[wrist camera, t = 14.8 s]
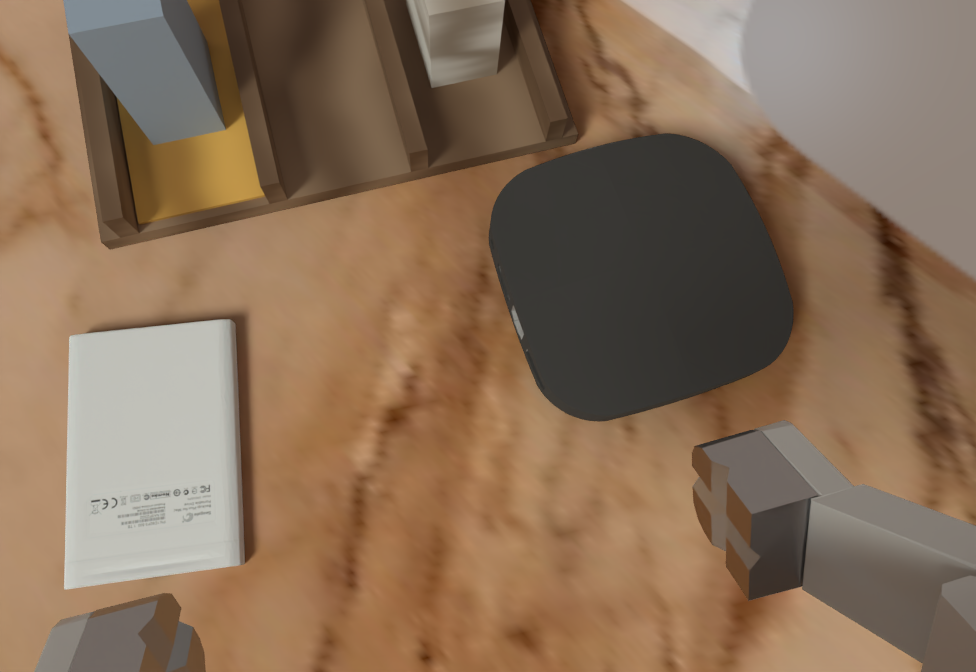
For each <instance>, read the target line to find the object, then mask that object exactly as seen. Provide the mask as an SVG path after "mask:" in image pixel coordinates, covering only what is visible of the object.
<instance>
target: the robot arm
mask: <svg viewBox="0 0 976 672" xmlns="http://www.w3.org/2000/svg"><path fill="white" fill-rule="evenodd" d="M692 466H693V468H694V469H695V471H696V472H697V474H698V475H699V476H700V477H699V478H698V479H697V481H696V482H695V484H694V485H693V501H694V506H695V510H696V513H697V517H698V520H699V522H700V524H701V526H702V528H703V531H704V532H705V534H706V536H707V537H708V539H709V541H710V542H711V544H712V545H714V546H716V547H718V548H720V549H722V550H724V551H726V567H727V569H728V570H729V572H730V573H731V575H732V576H733V578H734V579H735V581H736V582H737V584H738V585H739V587H740V588H741V590H742V592H743V593H744V595H745V596H746V598H747V599H748V601H749V600H753V599H757V598H760V597H764V596H768V595H772V594H775V593H779V592H783V591H787V590H790V589H794V588H798V587H801V586H802V589H803V590H804V591H806V592H808V593H809V594H811V595H812V596H814V597H816V598H817V599H819V600H820V601H822V602H824V603H825V604H827V605H829V606H830V607H832V608H833V609H835V610H837V611H838V612H840V613H842V614H843V615H845V616H846V617H848V618H850V619H851V620H853V621H855V622H856V623H858V624H859V625H861V626H863V627H864V628H866V629H868V630H869V631H871V632H872V633H874V634H876V635H877V636H879V637H881V638H882V639H884V640H885V641H887V642H889V643H890V644H892V645H894V646H895V647H897V648H898V649H900V650H902V651H903V652H905V653H907V654H908V655H910V656H911V657H913V658H915V659H916V660H918V661H919V662H921V663H923V665H922V669H921V672H976V526H975V525H972V524H970V523H967V522H964V521H961V520H959V519H956V518H953V517H951V516H948V515H945V514H943V513H940V512H937V511H935V510H932V509H929V508H927V507H924V506H921V505H918V504H916V503H913V502H910V501H908V500H905V499H902V498H900V497H897V496H894V495H892V494H889V493H886V492H883V491H881V490H878V489H875V488H873V487H870V486H867V485H865V484H862V485H858V486H853V485H852V484H851V483H850V482H849V481H848V480H847V479H846V478H845V477H844V476H843V475H842V474H841V473H840V472H839V471H838V470H837V469H836V468H835V467H834V466H833V465H832V464H831V463H830V462H829V461H828V460H827V458H826V457H825V456H824V455H823V454H822V453H821V452H820V451H819V450H818V449H817V448H816V447H815V446H814V445H813V444H812V443H811V442H810V441H809V440H808V439H807V438H806V437H805V436H804V435H803V434H802V433H801V432H800V431H799V430H798V429H797V428H796V427H795V426H794V425H793V424H792V423H790V422H788V421H785V420H783V421H780V422H776V423H773V424H770V425H766V426H763V427H759V428H756V429H754V430H749V431H746V432H742V433H739V434H735V435H732V436H728V437H725V438H721V439H718V440H714V441H711V442H707V443H704V444H700V445H697V446H694V449H693V452H692ZM180 612H181V607H180V605H179V604H178V602H177V601H176V599H175V598H174V597H173V595H172V594H169V593H162V594H158V595H154V596H150V597H146V598H142V599H138V600H134V601H131V602H127V603H123V604H119V605H115V606H111V607H107V608H103V609H99V610H96V611H94V612H90V613H86V614H82V615H78V616H74V617H70V618H66V619H61V620H60V621H59V622H58V623H57V624H56V625H55V626H54V627H53V628H52V630H51V632H50V634H49V637H48V639H47V642H46V644H45V647H44V649H43V652H42V654H41V656H40V659H39V661H38V664H37V666H36V669H35V671H34V672H206V670H205V656H204V650H203V647H202V644H201V641H200V638H199V636H198V634H197V633H196V631H195V629H194V628H193V627H191V626H189V625H187V624H184V623H182V622H179V617H180Z"/></svg>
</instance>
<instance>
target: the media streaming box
mask: <svg viewBox="0 0 976 672" xmlns="http://www.w3.org/2000/svg"><path fill="white" fill-rule="evenodd" d="M489 246H490V249H491V253H492V257H493V260H494V264H495V268H496V271H497V274H498V278H499V281H500V284H501V288H502V291H503V294H504V297H505V300H506V303H507V306H508V309H509V312H510V315H511V318H512V321H513V324H514V327H515V330H516V332H517V335H518V338H519V340H520V343H521V346H522V349H523V351H524V354H525V356H526V359H527V361H528V364H529V366H530V369H531V371H532V374H533V376H534V379H535V381H536V384H537V386H538V387H539V389H540V390H541V392H542V393H543V394H544V396H545V397H546V398H547V399H548V400H549V401H550V402H551V403H552V404H554V405H555V406H556V407H557V408H559V409H560V410H562V411H564V412H565V413H567V414H569V415H571V416H574V417H577V418H580V419H584V420H589V421H608V420H612V419H616V418H620V417H624V416H628V415H632V414H635V413H639V412H643V411H646V410H650V409H653V408H657V407H660V406H664V405H667V404H670V403H673V402H677V401H680V400H683V399H686V398H689V397H692V396H695V395H698V394H701V393H704V392H707V391H710V390H712V389H715V388H718V387H721V386H723V385H726V384H729V383H731V382H734V381H737V380H739V379H742V378H744V377H747V376H749V375H751V374H753V373H755V372H757V371H759V370H761V369H763V368H765V367H767V366H768V365H770V364H771V363H772V362H773V361H775V360H776V359H777V358H778V356H779V355H780V354H781V353H782V351H783V350H784V348H785V346H786V344H787V342H788V340H789V337H790V334H791V330H792V325H793V302H792V298H791V295H790V292H789V288H788V285H787V282H786V279H785V276H784V273H783V270H782V267H781V265H780V262H779V259H778V256H777V254H776V251H775V249H774V246H773V244H772V241H771V239H770V237H769V234H768V232H767V230H766V228H765V225H764V223H763V221H762V219H761V217H760V215H759V213H758V211H757V209H756V207H755V205H754V203H753V201H752V199H751V197H750V196H749V194H748V192H747V190H746V188H745V187H744V185H743V183H742V182H741V180H740V178H739V177H738V175H737V173H736V172H735V170H734V169H733V167H732V165H731V164H730V163H729V162H728V161H727V160H726V159H725V158H724V157H723V156H722V155H720V154H719V153H718V152H717V151H715V150H714V149H712V148H711V147H709V146H707V145H706V144H704V143H702V142H700V141H697V140H695V139H692V138H689V137H686V136H681V135H676V134H658V135H651V136H644V137H638V138H633V139H627V140H622V141H618V142H613V143H609V144H605V145H601V146H597V147H593V148H589V149H586V150H582V151H579V152H575V153H572V154H569V155H566V156H563V157H560V158H557V159H554V160H551V161H548V162H545V163H543V164H540V165H537V166H535V167H532V168H530V169H527V170H525V171H523V172H521V173H520V174H518V175H517V176H516V177H514V178H513V179H512V180H511V181H510V182H509V183H508V184H507V185H506V186H505V187H504V189H503V190H502V191H501V193H500V194H499V196H498V198H497V200H496V202H495V204H494V207H493V211H492V216H491V223H490V230H489Z"/></svg>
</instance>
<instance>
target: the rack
mask: <svg viewBox="0 0 976 672" xmlns="http://www.w3.org/2000/svg"><path fill="white" fill-rule="evenodd" d="M187 1H188V4H189V6H190V8H191V10H192V12H193V14H194V16H195V18H196V20H197V22H198V24H199V26H200V28H201V30H202V32H203V34H204V36H205V38H206V40H207V43H208V48H209V52H210V57H211V62H212V66H213V71H214V76H215V81H216V85H217V90H218V95H219V99H220V104H221V109H222V113H223V118H224V123H225V127H226V130H223V131H218V132H214V133H209V134H204V135H199V136H195V137H190V138H185V139H180V140H176V141H171V142H166V143H162V144H157V145H153V144H152V143H151V141H150V140H149V139H148V137H147V136H146V135H145V133H144V132H143V131H142V130H141V128H140V127H139V126H138V124H137V123H136V122H135V120H134V119H133V118H132V116H131V115H130V114H129V112H128V111H127V110H126V109H125V107H124V106H123V105H122V103H121V102H120V101H119V99H118V98H117V97H116V95H115V94H114V93H113V91H112V90H111V89H110V88H109V86H108V85H107V84H106V82H105V81H104V80H103V78H102V77H101V76H100V74H99V73H98V72H97V70H96V69H95V68H94V67H93V65H92V64H91V63H90V61H89V60H88V59H87V57H86V56H85V55H84V53H83V52H82V51H81V49H80V48H79V47H78V46H77V44H76V43H75V42H74V40H73V39H72V38H71V36H70V35H69V39H70V46H71V52H72V58H73V65H74V71H75V78H76V84H77V91H78V97H79V103H80V110H81V116H82V123H83V129H84V136H85V142H86V148H87V155H88V161H89V168H90V174H91V181H92V187H93V193H94V200H95V206H96V213H97V219H98V226H99V232H100V238H101V242H102V243H103V244H104V245H105V246H106V247H108V248H109V249H114V248H118V247H123V246H127V245H131V244H136V243H140V242H144V241H149V240H153V239H158V238H162V237H166V236H171V235H175V234H180V233H184V232H188V231H193V230H197V229H201V228H206V227H210V226H215V225H219V224H223V223H228V222H232V221H237V220H241V219H245V218H250V217H254V216H258V215H263V214H267V213H272V212H276V211H280V210H285V209H289V208H294V207H298V206H302V205H307V204H311V203H315V202H320V201H324V200H329V199H333V198H337V197H342V196H346V195H351V194H355V193H359V192H364V191H368V190H373V189H377V188H381V187H386V186H390V185H394V184H399V183H403V182H408V181H412V180H416V179H421V178H425V177H430V176H434V175H438V174H443V173H447V172H451V171H456V170H460V169H465V168H469V167H473V166H478V165H482V164H487V163H491V162H495V161H500V160H504V159H508V158H513V157H517V156H522V155H526V154H530V153H535V152H539V151H544V150H548V149H552V148H557V147H561V146H565V145H570V144H574V143H575V142H576V139H577V136H578V132H577V130H576V127H575V124H574V121H573V118H572V116H571V113H570V110H569V107H568V104H567V101H566V99H565V96H564V93H563V90H562V87H561V85H560V82H559V79H558V76H557V73H556V71H555V68H554V65H553V62H552V59H551V57H550V54H549V51H548V48H547V45H546V43H545V40H544V37H543V34H542V31H541V29H540V26H539V23H538V20H537V17H536V15H535V12H534V9H533V6H532V3H531V0H187Z"/></svg>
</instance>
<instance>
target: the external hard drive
mask: <svg viewBox="0 0 976 672" xmlns="http://www.w3.org/2000/svg"><path fill="white" fill-rule="evenodd" d="M243 564H245V551H244V523H243V496H242V469H241V444H240V420H239V394H238V371H237V345H236V324H235V323H234V322H233V321H232V320H231V319H219V320H209V321H199V322H190V323H180V324H171V325H161V326H152V327H143V328H132V329H123V330H112V331H105V332H94V333H85V334H79V335H71V336H70V338H69V385H68V433H67V481H66V530H65V574H64V589H65V590H66V589H73V588H80V587H87V586H94V585H101V584H107V583H115V582H122V581H129V580H136V579H143V578H151V577H158V576H165V575H173V574H180V573H188V572H195V571H202V570H209V569H217V568H224V567H231V566H239V565H243Z"/></svg>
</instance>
